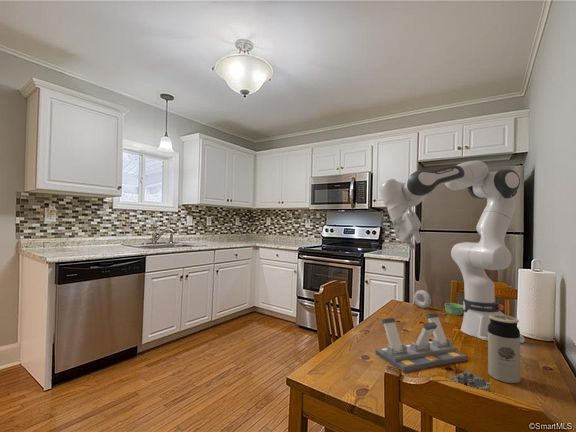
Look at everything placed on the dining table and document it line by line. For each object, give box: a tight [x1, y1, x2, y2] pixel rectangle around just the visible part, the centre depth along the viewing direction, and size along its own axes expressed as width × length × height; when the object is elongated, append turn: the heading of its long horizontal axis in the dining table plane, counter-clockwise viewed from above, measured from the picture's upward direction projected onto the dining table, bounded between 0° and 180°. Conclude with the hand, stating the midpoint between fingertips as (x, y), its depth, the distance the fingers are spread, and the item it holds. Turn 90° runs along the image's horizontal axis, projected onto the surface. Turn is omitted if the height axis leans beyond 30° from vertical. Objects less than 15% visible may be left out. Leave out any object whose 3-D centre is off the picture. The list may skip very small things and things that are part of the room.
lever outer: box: [381, 317, 403, 352], centre depth 103 cm, size 2×4×11 cm, turn 110°
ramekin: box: [444, 302, 464, 316], centre depth 159 cm, size 9×9×4 cm
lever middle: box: [414, 322, 437, 349], centre depth 103 cm, size 2×4×11 cm, turn 110°
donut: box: [413, 289, 432, 309], centre depth 169 cm, size 10×4×10 cm, turn 32°
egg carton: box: [447, 369, 491, 392], centre depth 83 cm, size 11×8×4 cm
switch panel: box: [375, 336, 468, 373], centre depth 105 cm, size 14×27×5 cm, turn 110°
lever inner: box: [425, 312, 448, 345], centre depth 110 cm, size 2×4×11 cm, turn 110°
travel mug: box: [487, 314, 521, 384], centre depth 91 cm, size 8×8×18 cm
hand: (416, 245), depth 118 cm, fingers open, 8 cm apart
